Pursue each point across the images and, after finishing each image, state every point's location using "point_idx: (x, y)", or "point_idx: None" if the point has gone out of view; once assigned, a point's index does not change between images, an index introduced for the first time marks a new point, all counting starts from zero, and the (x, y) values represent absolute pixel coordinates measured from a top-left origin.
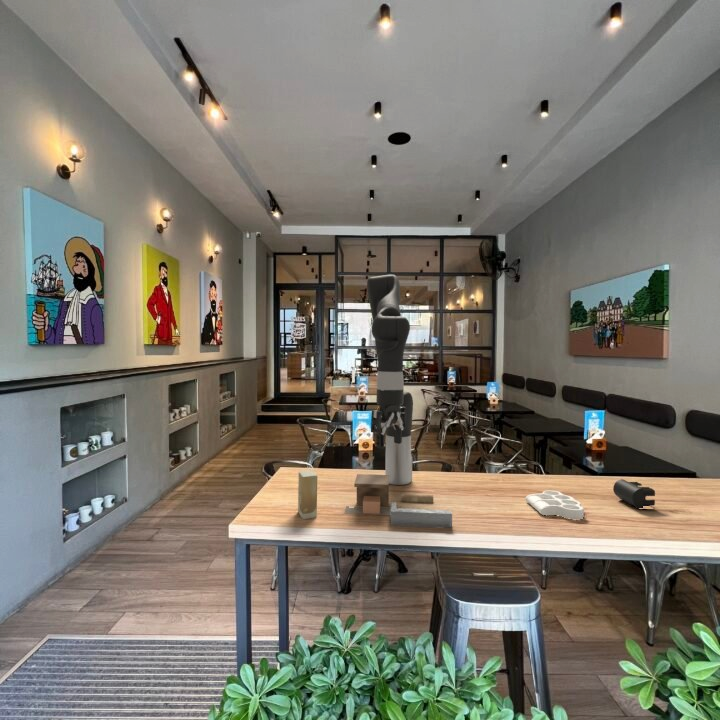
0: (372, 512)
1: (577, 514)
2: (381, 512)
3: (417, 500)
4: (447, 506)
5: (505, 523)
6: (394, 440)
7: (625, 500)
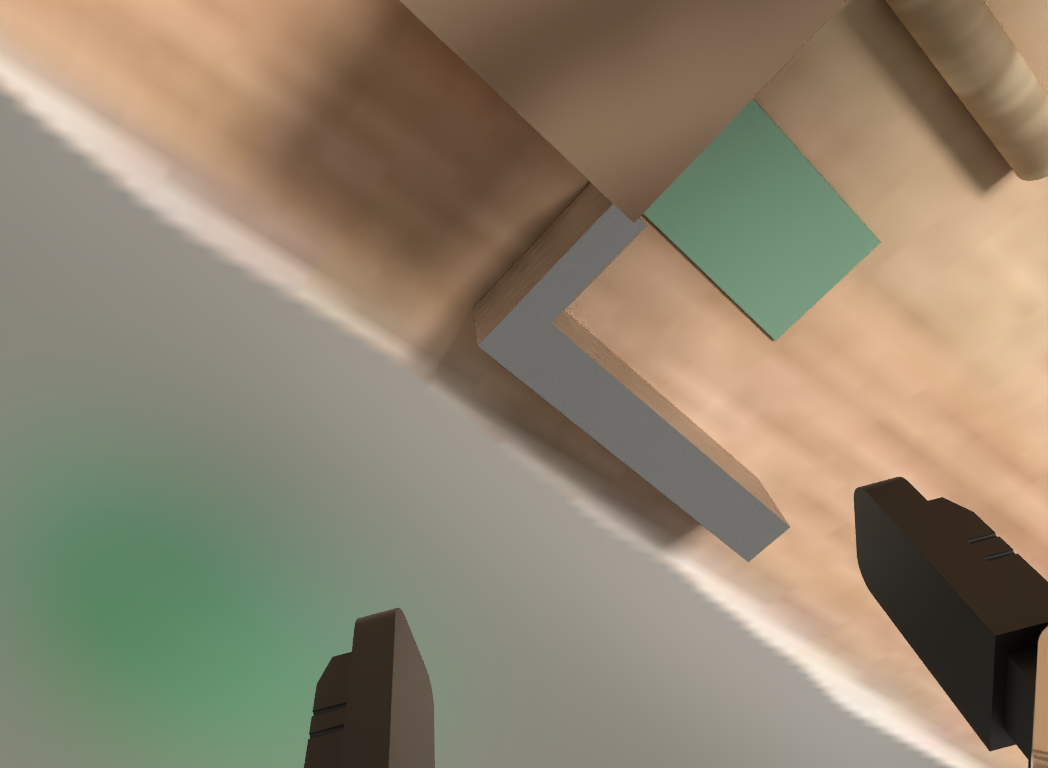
0: None
1: None
2: None
3: (956, 92)
4: (1012, 273)
5: None
6: (873, 511)
7: None
